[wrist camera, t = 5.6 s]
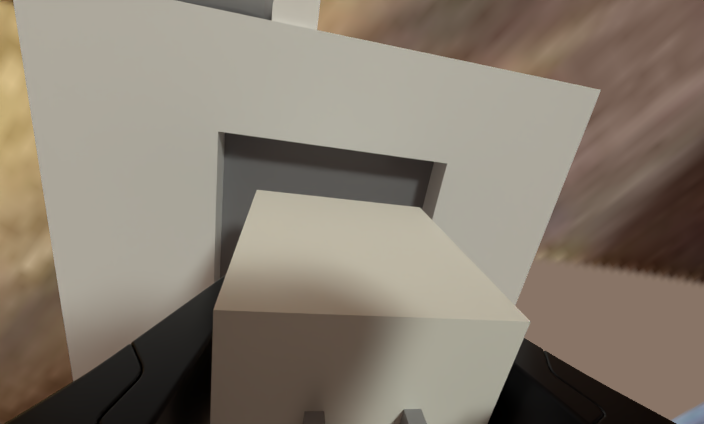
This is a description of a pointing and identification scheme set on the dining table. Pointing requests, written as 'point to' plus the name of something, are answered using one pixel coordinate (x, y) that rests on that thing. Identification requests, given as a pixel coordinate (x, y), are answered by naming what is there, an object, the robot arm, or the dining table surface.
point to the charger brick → (356, 320)
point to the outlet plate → (264, 148)
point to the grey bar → (270, 10)
